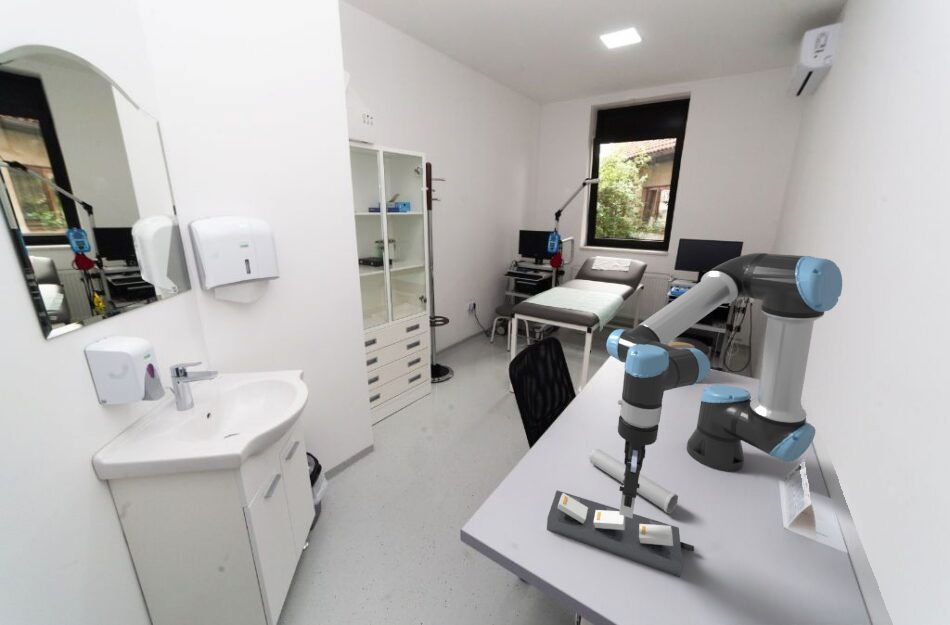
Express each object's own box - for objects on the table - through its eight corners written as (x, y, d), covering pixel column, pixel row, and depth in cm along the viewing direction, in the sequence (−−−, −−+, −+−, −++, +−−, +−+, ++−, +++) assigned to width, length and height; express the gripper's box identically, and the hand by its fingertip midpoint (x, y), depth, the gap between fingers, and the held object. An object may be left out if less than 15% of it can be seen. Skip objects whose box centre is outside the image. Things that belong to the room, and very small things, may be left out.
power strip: (691, 544, 83) (694, 530, 82) (696, 583, 74) (699, 567, 73) (555, 501, 96) (556, 488, 95) (546, 529, 87) (547, 515, 86)
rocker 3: (672, 531, 80) (670, 525, 80) (673, 545, 76) (671, 539, 76) (640, 529, 83) (639, 523, 83) (640, 542, 79) (638, 536, 79)
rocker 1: (585, 511, 88) (588, 507, 87) (583, 523, 84) (585, 519, 83) (560, 496, 90) (563, 492, 89) (557, 508, 86) (559, 503, 85)
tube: (598, 445, 113) (680, 492, 93) (593, 461, 114) (674, 512, 93) (588, 445, 110) (670, 495, 90) (583, 462, 110) (664, 515, 90)
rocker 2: (625, 516, 84) (624, 510, 83) (624, 530, 80) (623, 523, 80) (597, 515, 87) (595, 509, 86) (594, 527, 83) (593, 521, 83)
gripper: (621, 401, 83) (610, 489, 88) (617, 430, 71) (605, 530, 77) (658, 408, 80) (644, 499, 85) (659, 440, 68) (644, 543, 74)
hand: (625, 514), depth 81 cm, fingers closed
